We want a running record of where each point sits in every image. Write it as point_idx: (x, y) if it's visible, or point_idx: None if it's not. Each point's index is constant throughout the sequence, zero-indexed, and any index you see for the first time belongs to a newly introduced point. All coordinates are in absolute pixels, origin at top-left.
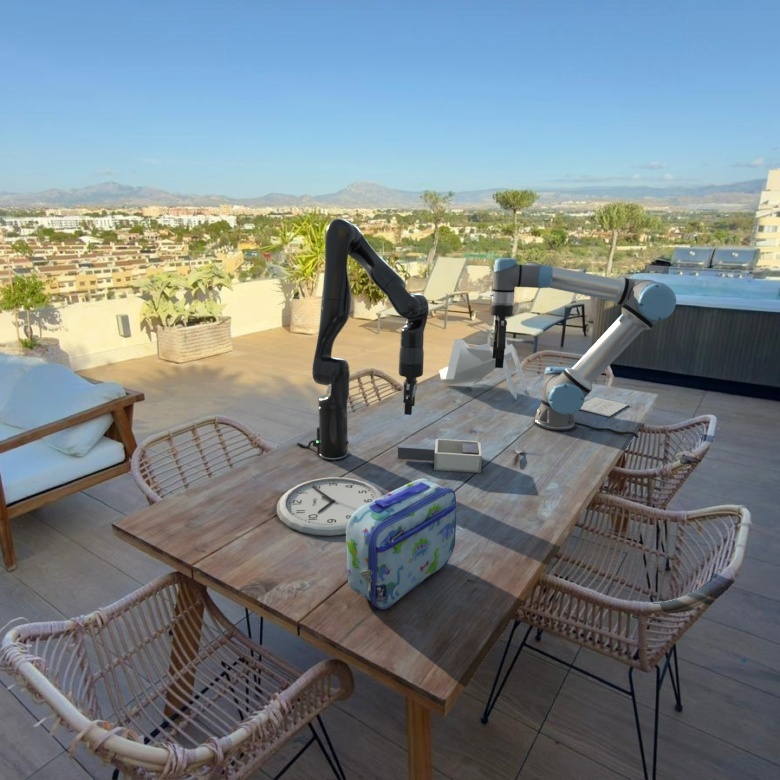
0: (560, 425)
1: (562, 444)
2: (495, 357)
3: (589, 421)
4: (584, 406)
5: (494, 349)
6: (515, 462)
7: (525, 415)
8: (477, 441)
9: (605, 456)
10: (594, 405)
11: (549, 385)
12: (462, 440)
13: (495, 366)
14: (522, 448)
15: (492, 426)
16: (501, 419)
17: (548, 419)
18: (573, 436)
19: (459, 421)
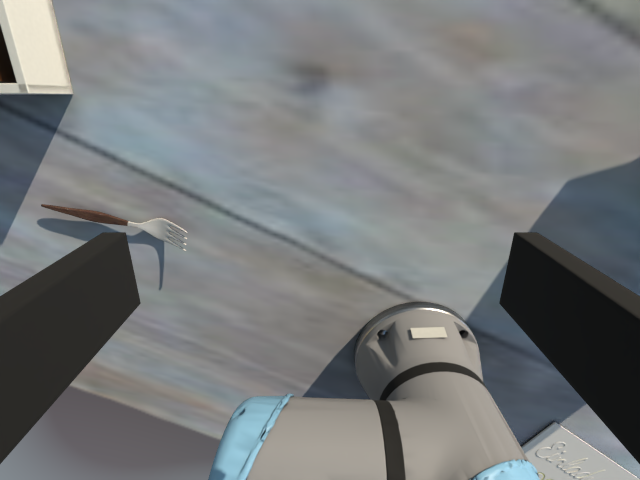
0: (356, 369)
1: (256, 347)
2: (513, 267)
3: None
4: (562, 448)
5: (580, 298)
6: (54, 209)
7: (493, 282)
8: (21, 81)
9: (202, 420)
10: (569, 470)
11: (326, 457)
12: (2, 11)
13: (95, 240)
14: (171, 241)
15: (374, 160)
16: (450, 199)
17: (373, 348)
18: (321, 381)
19: (420, 20)
